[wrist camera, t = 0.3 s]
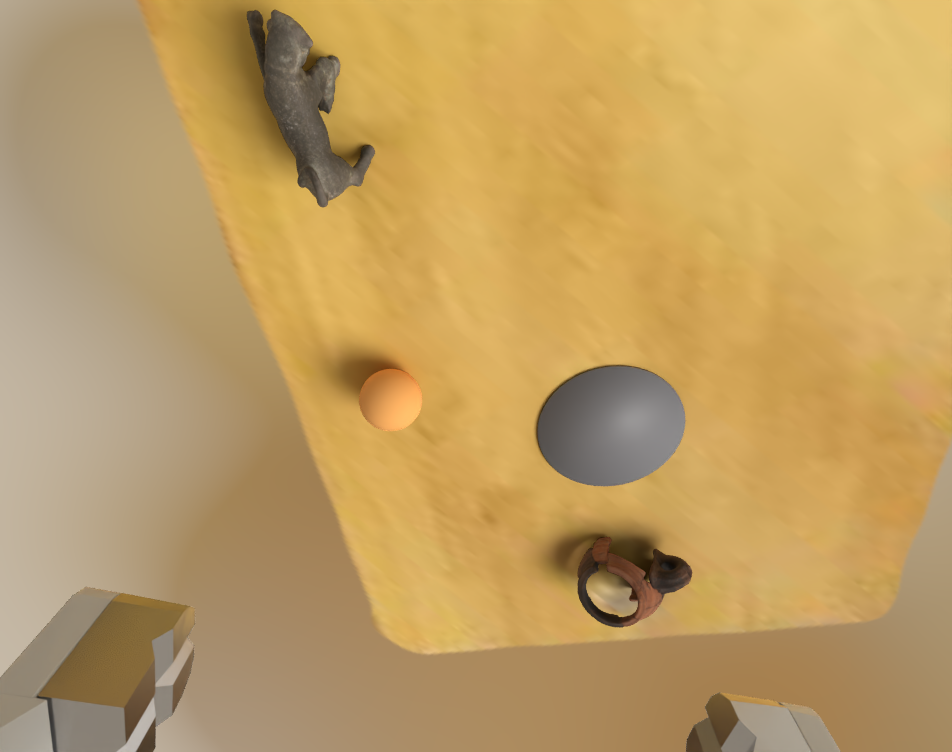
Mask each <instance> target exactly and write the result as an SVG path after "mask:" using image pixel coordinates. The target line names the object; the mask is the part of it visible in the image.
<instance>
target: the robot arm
mask: <svg viewBox="0 0 952 752" xmlns="http://www.w3.org/2000/svg"><path fill="white" fill-rule="evenodd" d="M194 625H195V608H194V607H191V606H186V605H181V604H176V603H170V602H166V601H160V600H155V599H150V598H145V597H139V596H135V595H129V594H124V593H117V592H112V591H106V590H101V589H95V588H90V587H85V588H84V589H82V590H80V591H79V592H77V593H76V594H74V595H73V596H72V597H71V598H70V599H69V600H68V601H67V602H66V604H65V605H64V606H63V607H62V608H61V609H60V611H59V612H58V613H57V614H56V615H55V616H54V617H53V618H52V620H51V621H50V622H49V623H48V624H47V625H46V626H45V627H44V629H43V630H42V631H41V632H40V633H39V634H38V635H37V636H36V638H35V639H34V640H33V641H32V642H31V643H30V644H29V646H28V647H27V648H26V649H25V650H24V651H23V652H22V653H21V655H20V656H19V657H18V658H17V659H16V660H15V661H14V663H13V664H12V665H11V666H10V667H9V668H8V669H7V670H6V672H5V673H4V674H3V675H2V676H1V677H0V752H153V751H154V749H155V738H156V736H155V735H156V729H155V727H156V726H158V725H159V724H160V723H162V722H163V721H165V720H166V719H168V718H169V717H170V716H172V715H173V713H174V711H175V709H176V707H177V705H178V703H179V701H180V699H181V697H182V694H183V692H184V689H185V686H186V684H187V681H188V678H189V676H190V673H191V668H192V663H193V658H194V645H193V644H192V642H191V641H190V640H189V638H188V635H189V634H190V632H191V630H192V628H193V627H194ZM705 709H706V711H707V714H708V718H706V719H704V720H703V721H701V722H699V723H697V724H695V725H694V726H693V728H692V730H691V732H690V734H689V736H688V738H687V744H686V752H840V750H839V748H838V747H837V745H836V743H835V741H834V740H833V738H832V736H831V735H830V733H829V731H828V730H827V728H826V726H825V725H824V723H823V721H822V719H821V718H820V717H819V715H818V714H817V713H816V712H814V710H812V709H811V708H810V707H805V706H800V705H793V704H787V703H781V702H775V701H772V700H766V699H759V698H753V697H746V696H739V695H733V694H726V693H717V694H715V695H713V696H712V697H711V698H710V699H709V701H708V703H707V704H706V706H705Z"/></svg>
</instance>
